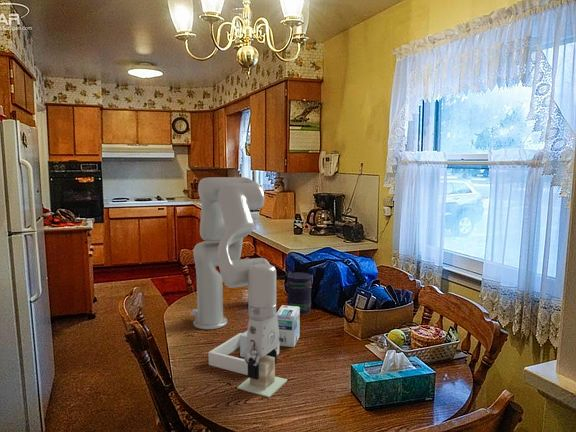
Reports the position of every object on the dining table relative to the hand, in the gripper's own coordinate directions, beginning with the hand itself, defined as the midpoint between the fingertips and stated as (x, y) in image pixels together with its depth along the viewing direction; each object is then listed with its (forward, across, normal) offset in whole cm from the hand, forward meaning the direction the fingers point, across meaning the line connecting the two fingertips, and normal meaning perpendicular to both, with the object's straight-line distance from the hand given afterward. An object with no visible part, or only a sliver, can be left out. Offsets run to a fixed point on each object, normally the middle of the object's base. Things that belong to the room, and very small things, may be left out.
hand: (262, 370), depth 121 cm
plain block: (+4, +14, +13) cm, 20 cm away
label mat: (+4, 0, 0) cm, 4 cm away
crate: (+4, +11, +13) cm, 18 cm away
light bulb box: (+4, +30, +8) cm, 31 cm away
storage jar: (+4, +59, +18) cm, 62 cm away
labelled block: (+4, 0, 0) cm, 4 cm away
